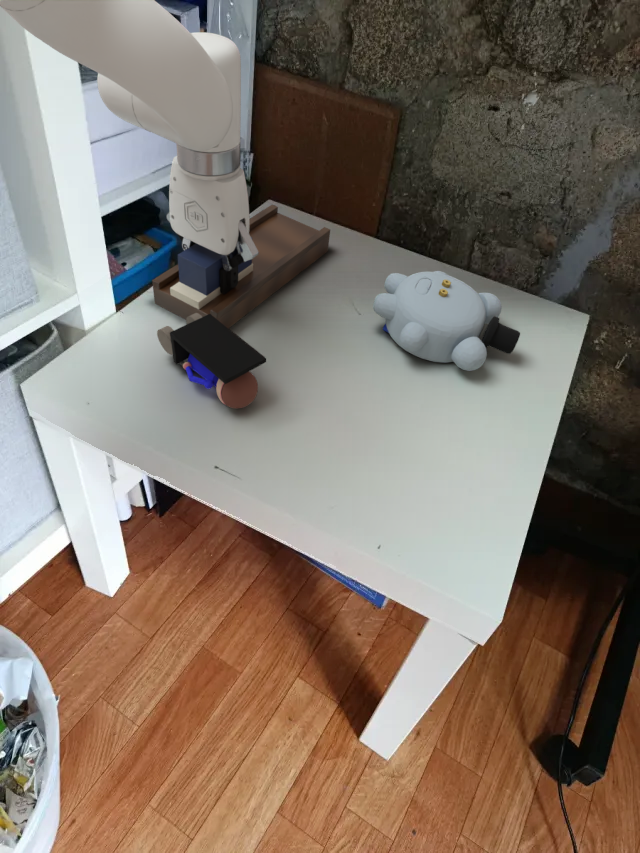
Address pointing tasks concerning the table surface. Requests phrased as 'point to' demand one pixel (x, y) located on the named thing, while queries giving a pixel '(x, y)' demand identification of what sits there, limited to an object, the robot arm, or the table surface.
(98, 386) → the table surface
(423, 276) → the figurine
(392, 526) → the table surface
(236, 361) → the figurine character
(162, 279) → the brown wooden tray
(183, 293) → the blue milk carton
